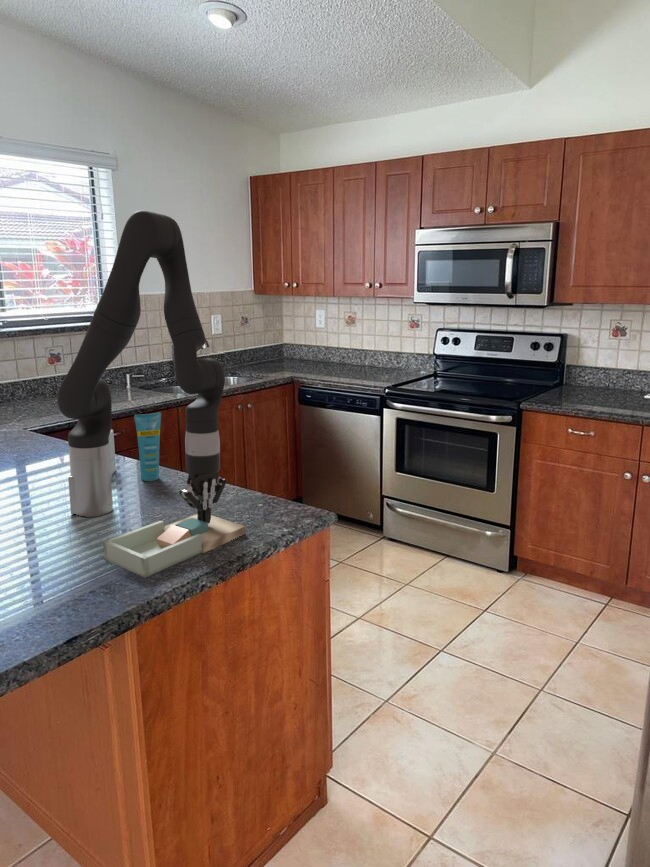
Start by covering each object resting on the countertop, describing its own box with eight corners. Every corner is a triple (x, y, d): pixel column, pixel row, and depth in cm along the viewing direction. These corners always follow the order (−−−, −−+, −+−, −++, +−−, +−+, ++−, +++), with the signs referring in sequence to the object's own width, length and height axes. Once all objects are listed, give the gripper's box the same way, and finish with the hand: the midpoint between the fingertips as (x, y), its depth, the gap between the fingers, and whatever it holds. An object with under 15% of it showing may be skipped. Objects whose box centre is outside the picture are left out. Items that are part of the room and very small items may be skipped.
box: (145, 577, 125) (144, 558, 124) (104, 559, 133) (103, 541, 132) (201, 552, 137) (201, 535, 136) (161, 537, 145) (160, 520, 144)
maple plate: (203, 553, 137) (203, 544, 136) (159, 536, 145) (159, 528, 144) (245, 534, 147) (245, 526, 147) (202, 519, 155) (202, 512, 155)
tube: (140, 483, 181) (137, 416, 176) (134, 478, 184) (131, 413, 180) (165, 479, 185) (163, 413, 180) (160, 474, 188) (157, 410, 184)
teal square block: (192, 538, 139) (191, 529, 139) (175, 532, 142) (175, 524, 142) (208, 531, 144) (208, 522, 143) (192, 525, 146) (191, 517, 146)
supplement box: (91, 470, 191) (88, 429, 188) (116, 470, 192) (114, 429, 188) (84, 478, 184) (81, 435, 181) (110, 478, 184) (108, 435, 181)
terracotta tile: (175, 551, 136) (172, 544, 135) (159, 545, 139) (156, 538, 138) (191, 537, 139) (188, 529, 138) (175, 531, 142) (172, 524, 141)
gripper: (192, 459, 134) (194, 536, 139) (235, 446, 145) (236, 518, 149) (167, 453, 139) (170, 528, 143) (211, 441, 149) (213, 511, 153)
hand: (204, 523), depth 146 cm, fingers closed
